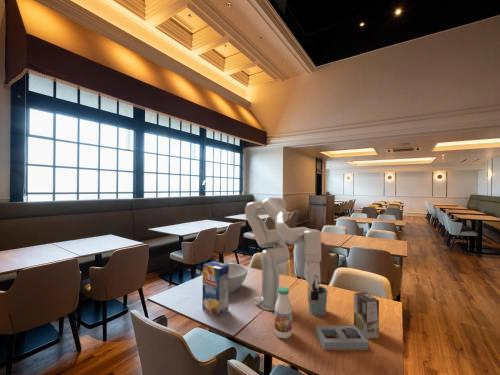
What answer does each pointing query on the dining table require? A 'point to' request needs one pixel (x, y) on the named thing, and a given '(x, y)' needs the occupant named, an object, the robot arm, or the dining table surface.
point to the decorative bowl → (236, 276)
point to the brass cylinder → (310, 295)
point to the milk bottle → (283, 314)
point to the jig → (341, 338)
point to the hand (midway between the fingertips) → (313, 297)
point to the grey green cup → (319, 303)
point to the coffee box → (366, 315)
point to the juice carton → (215, 287)
